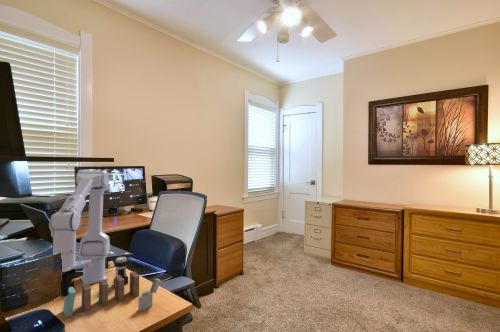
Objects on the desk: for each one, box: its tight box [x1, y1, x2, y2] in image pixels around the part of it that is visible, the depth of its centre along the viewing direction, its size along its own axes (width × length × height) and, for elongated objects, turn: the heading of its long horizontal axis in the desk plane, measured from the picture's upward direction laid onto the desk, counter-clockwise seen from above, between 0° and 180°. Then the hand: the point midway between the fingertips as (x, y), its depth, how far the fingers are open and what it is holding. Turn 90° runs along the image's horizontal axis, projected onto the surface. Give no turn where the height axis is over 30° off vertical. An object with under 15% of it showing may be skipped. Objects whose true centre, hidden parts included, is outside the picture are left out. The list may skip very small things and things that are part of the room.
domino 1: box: [62, 286, 77, 318], centre depth 82 cm, size 5×2×7 cm, turn 43°
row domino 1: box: [81, 283, 92, 313], centre depth 85 cm, size 5×2×7 cm, turn 42°
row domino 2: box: [98, 279, 109, 307], centre depth 89 cm, size 5×2×7 cm, turn 42°
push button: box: [108, 256, 130, 287], centre depth 102 cm, size 7×5×10 cm
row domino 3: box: [114, 275, 125, 302], centre depth 92 cm, size 5×2×7 cm, turn 42°
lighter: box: [137, 278, 161, 312], centre depth 87 cm, size 7×2×8 cm, turn 146°
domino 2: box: [129, 271, 140, 298], centre depth 95 cm, size 5×2×7 cm, turn 42°
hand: (63, 295), depth 81 cm, fingers closed
